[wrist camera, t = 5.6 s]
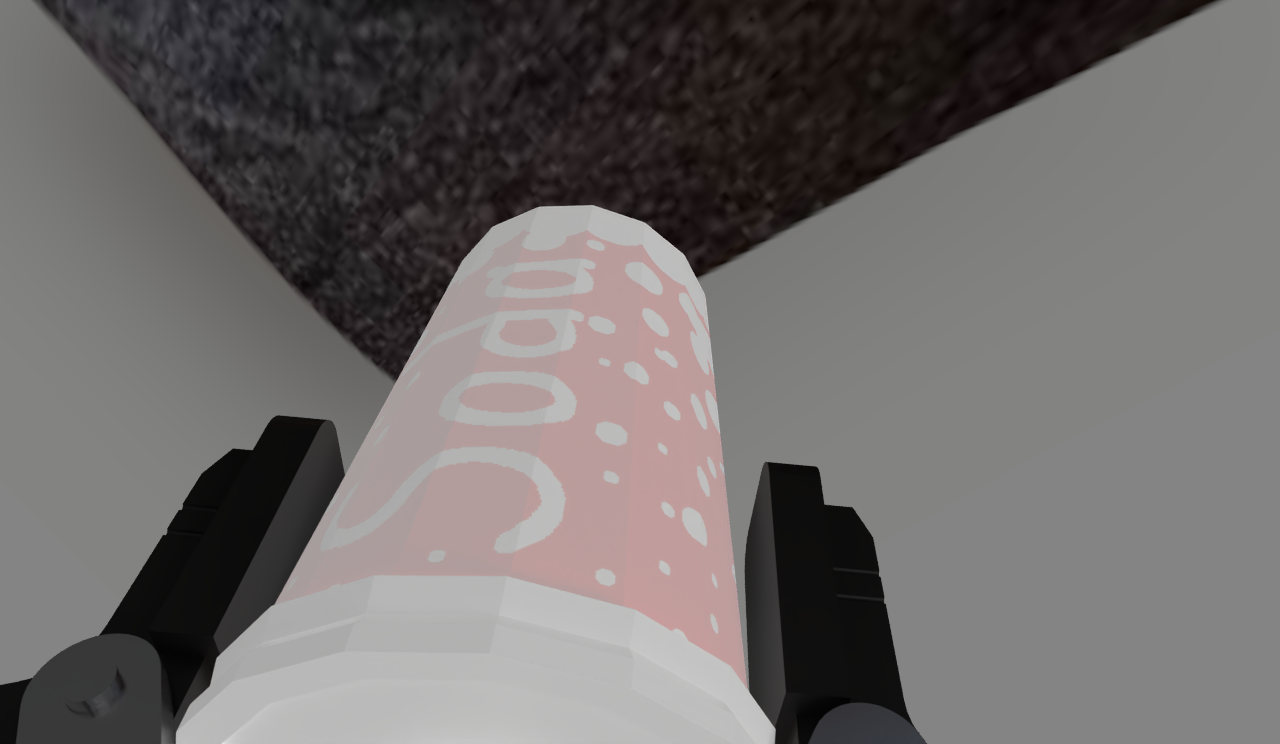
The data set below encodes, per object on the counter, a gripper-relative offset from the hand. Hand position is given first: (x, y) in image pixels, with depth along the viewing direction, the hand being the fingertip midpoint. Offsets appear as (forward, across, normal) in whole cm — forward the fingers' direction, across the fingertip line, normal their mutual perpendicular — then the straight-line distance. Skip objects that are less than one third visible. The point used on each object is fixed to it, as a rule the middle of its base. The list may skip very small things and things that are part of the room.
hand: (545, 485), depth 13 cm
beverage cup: (+4, 0, 0) cm, 4 cm away
